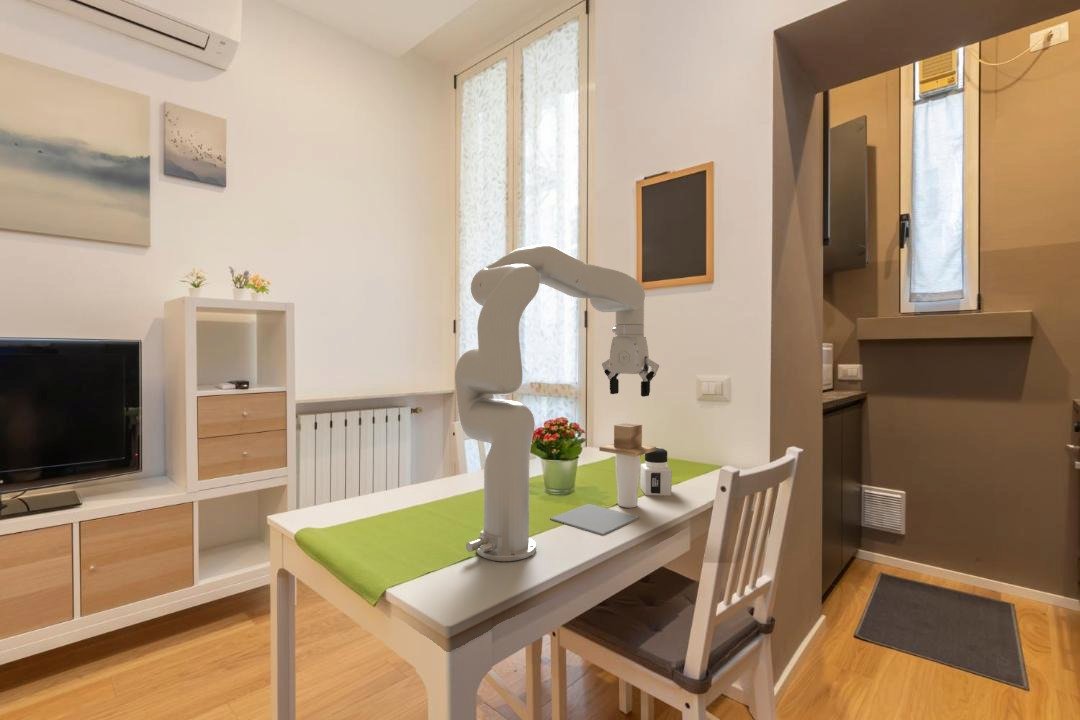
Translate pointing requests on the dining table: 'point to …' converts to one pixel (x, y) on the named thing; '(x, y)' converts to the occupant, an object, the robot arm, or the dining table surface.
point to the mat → (595, 519)
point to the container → (656, 474)
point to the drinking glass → (627, 479)
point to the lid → (628, 441)
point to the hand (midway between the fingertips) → (629, 394)
